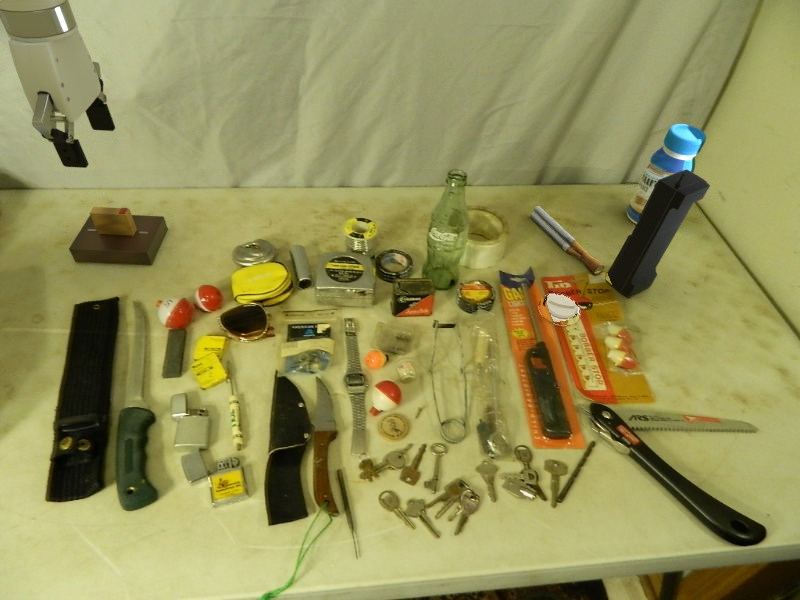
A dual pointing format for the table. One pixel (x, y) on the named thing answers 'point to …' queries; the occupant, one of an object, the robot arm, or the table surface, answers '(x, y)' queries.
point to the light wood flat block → (113, 221)
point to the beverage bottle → (667, 163)
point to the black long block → (655, 231)
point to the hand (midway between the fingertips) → (91, 147)
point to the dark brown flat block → (120, 243)
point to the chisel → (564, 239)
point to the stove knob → (561, 308)
